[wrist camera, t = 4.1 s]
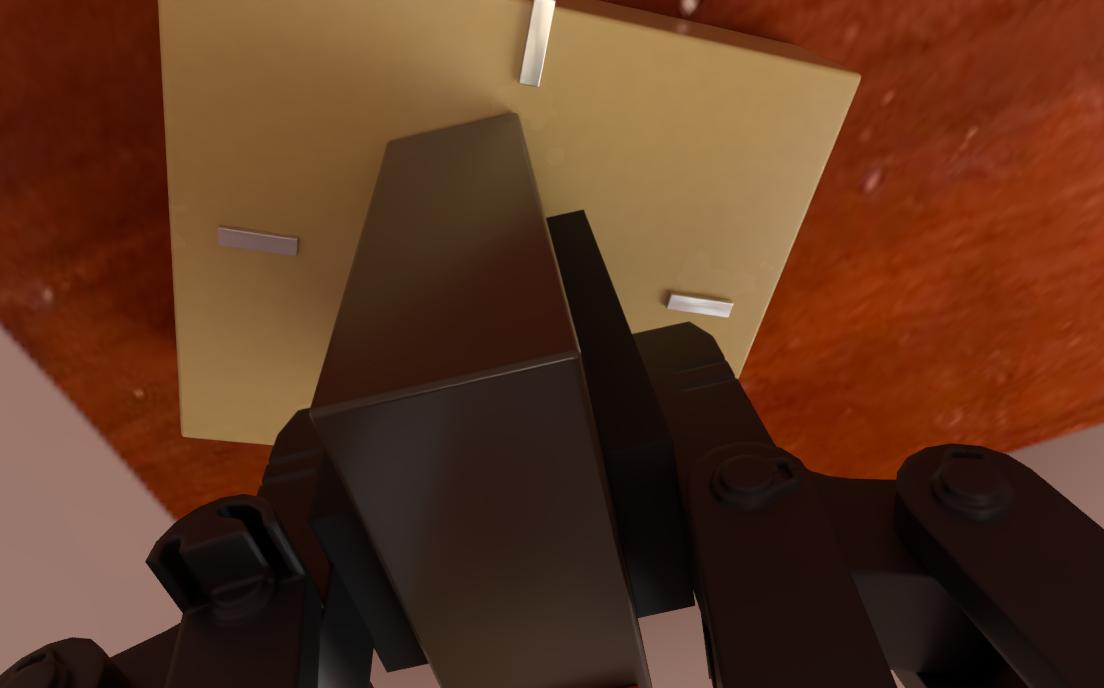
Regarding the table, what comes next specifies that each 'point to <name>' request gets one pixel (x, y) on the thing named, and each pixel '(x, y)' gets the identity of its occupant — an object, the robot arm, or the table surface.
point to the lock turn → (477, 424)
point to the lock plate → (450, 100)
